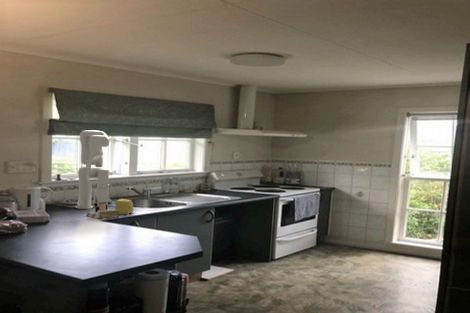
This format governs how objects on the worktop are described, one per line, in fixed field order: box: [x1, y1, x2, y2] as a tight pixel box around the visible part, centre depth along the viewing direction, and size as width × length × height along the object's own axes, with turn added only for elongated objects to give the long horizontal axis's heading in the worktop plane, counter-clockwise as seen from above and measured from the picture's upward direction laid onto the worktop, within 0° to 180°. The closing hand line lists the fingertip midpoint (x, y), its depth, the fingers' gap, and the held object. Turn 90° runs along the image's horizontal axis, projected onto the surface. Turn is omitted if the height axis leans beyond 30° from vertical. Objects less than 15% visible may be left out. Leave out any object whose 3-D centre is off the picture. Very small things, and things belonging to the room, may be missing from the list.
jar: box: [98, 203, 106, 210], centre depth 319 cm, size 6×6×8 cm
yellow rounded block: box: [115, 198, 134, 215], centre depth 335 cm, size 10×11×10 cm
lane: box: [86, 209, 120, 220], centre depth 318 cm, size 16×15×5 cm
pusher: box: [96, 208, 113, 215], centre depth 317 cm, size 1×11×4 cm, turn 140°
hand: (101, 211), depth 319 cm, fingers closed on jar, 6 cm apart
